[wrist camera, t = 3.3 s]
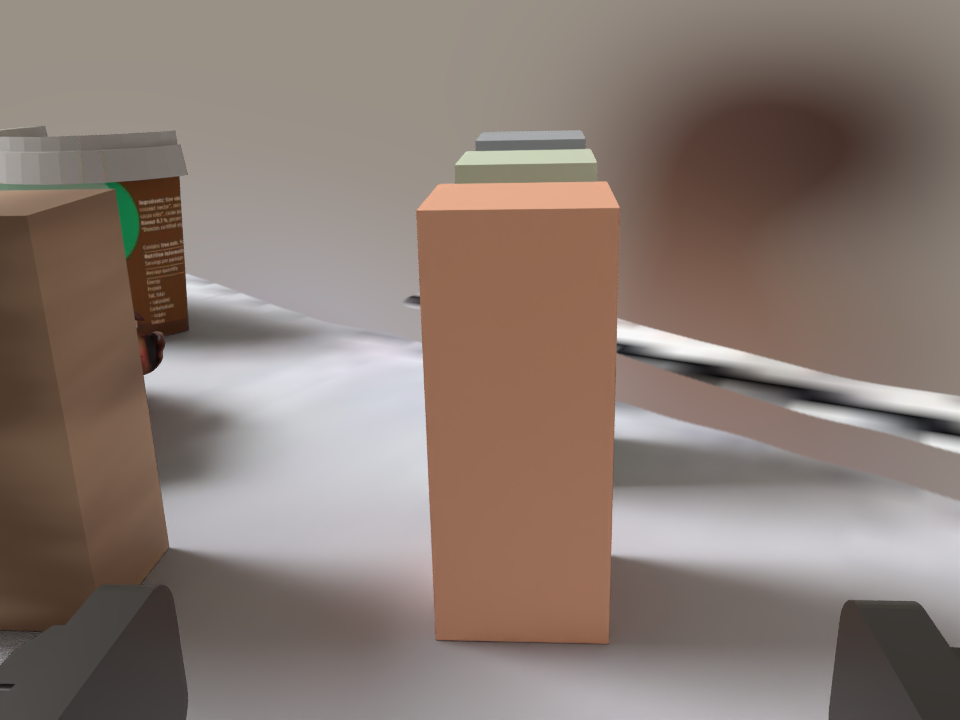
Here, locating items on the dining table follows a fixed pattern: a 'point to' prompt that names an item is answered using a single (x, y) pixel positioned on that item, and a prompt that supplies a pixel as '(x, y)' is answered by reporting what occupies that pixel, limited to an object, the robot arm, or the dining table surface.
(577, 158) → the sage block
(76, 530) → the walnut block
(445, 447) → the terracotta block
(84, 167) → the food container
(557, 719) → the dining table surface
